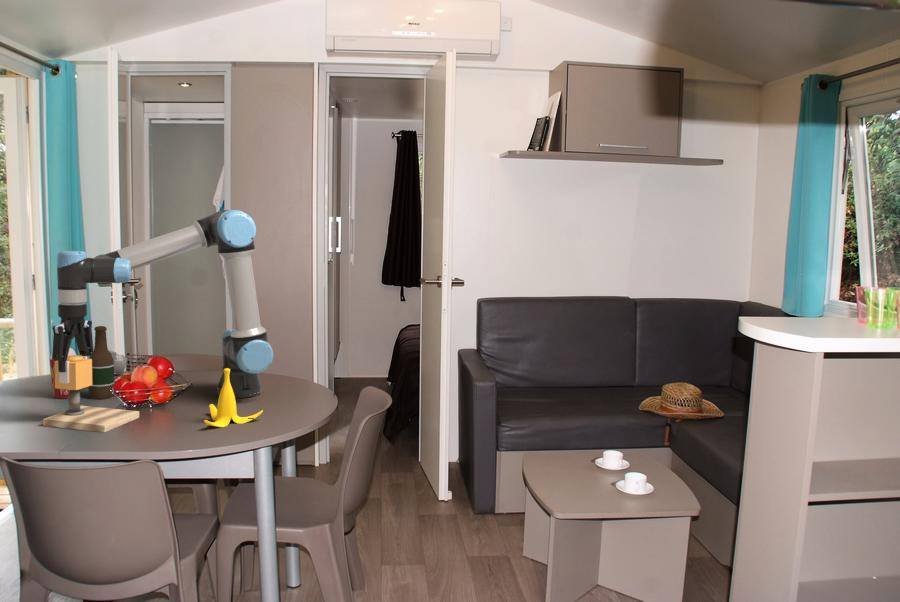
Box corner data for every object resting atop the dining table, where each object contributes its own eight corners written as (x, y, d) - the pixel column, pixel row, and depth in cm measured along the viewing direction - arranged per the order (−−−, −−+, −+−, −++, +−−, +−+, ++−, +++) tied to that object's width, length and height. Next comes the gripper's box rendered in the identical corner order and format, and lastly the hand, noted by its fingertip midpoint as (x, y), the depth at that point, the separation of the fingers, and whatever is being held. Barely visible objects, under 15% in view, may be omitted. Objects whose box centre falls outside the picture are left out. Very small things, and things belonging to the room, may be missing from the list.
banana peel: (211, 414, 226) (211, 362, 224) (264, 421, 221) (265, 367, 219) (177, 428, 210) (177, 372, 208) (234, 435, 205) (234, 378, 203)
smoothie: (77, 399, 237) (75, 339, 235) (48, 400, 234) (47, 340, 231) (79, 393, 244) (78, 335, 242) (52, 394, 241) (50, 336, 239)
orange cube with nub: (92, 385, 215) (91, 355, 214) (76, 390, 208) (75, 359, 207) (71, 383, 216) (71, 354, 215) (55, 388, 210) (54, 358, 209)
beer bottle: (90, 394, 243) (88, 325, 240) (115, 393, 246) (114, 324, 243) (87, 400, 236) (86, 328, 233) (113, 399, 239) (112, 328, 236)
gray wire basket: (86, 378, 267) (86, 352, 266) (103, 372, 278) (103, 347, 277) (155, 382, 265) (155, 355, 264) (169, 375, 276) (169, 350, 275)
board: (139, 417, 218) (139, 388, 217) (104, 432, 203) (104, 401, 202) (81, 411, 222) (81, 383, 221) (43, 425, 206) (42, 395, 205)
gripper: (84, 299, 220) (85, 372, 223) (35, 306, 201) (37, 386, 203) (106, 300, 219) (107, 374, 221) (59, 307, 199) (60, 388, 202)
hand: (73, 379), depth 212 cm, fingers closed on orange cube with nub, 7 cm apart
